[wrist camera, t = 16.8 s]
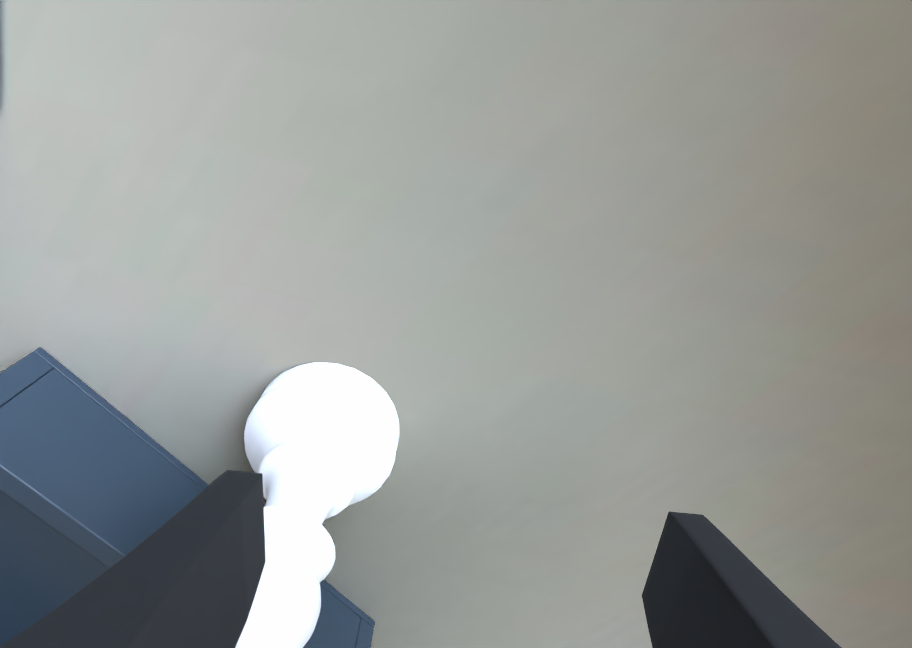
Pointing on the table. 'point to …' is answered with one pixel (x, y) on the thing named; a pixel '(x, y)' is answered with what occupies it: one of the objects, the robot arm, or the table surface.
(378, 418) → the chess pawn
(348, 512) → the table surface
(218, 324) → the table surface
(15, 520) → the crate
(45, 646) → the robot arm
